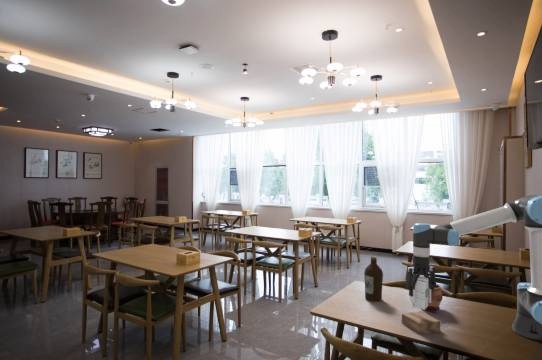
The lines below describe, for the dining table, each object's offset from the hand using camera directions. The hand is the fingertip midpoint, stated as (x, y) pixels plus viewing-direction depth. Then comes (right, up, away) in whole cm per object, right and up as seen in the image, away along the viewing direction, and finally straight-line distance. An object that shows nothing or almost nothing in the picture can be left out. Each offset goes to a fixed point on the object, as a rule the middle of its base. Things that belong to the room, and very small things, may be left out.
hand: (420, 302), depth 156 cm
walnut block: (0, -12, 0) cm, 12 cm away
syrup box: (0, -2, 0) cm, 2 cm away
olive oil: (-11, -12, +37) cm, 40 cm away
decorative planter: (+15, -12, +21) cm, 28 cm away
